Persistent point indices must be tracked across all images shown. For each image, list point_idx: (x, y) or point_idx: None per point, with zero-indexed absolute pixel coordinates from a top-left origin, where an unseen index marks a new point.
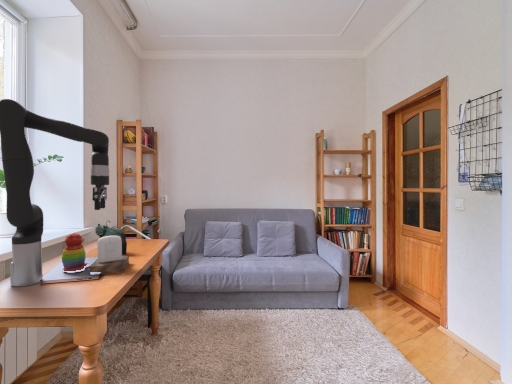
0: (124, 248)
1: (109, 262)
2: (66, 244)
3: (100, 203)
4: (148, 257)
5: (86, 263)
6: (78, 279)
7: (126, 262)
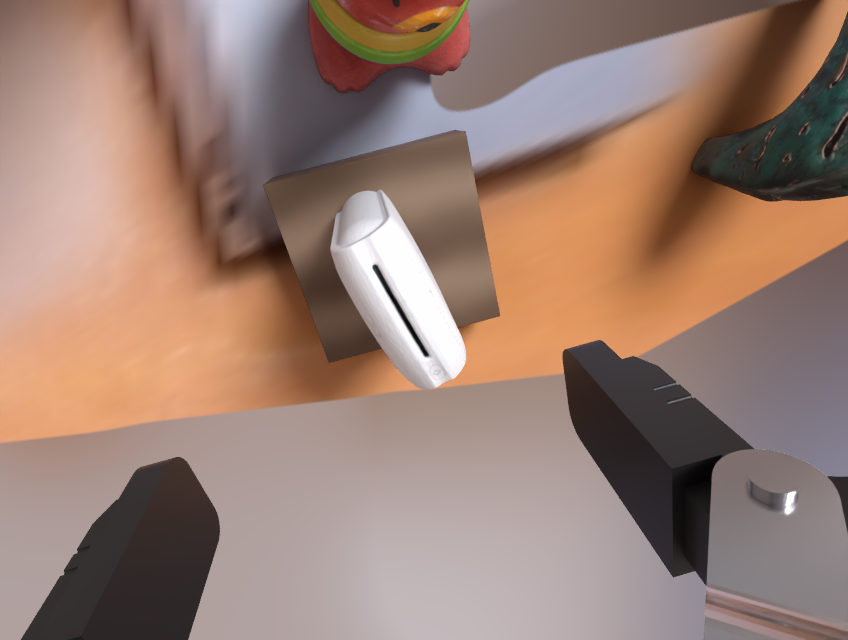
0: (728, 186)
1: None
2: None
3: (622, 425)
4: None
5: (445, 49)
6: (207, 149)
7: None
